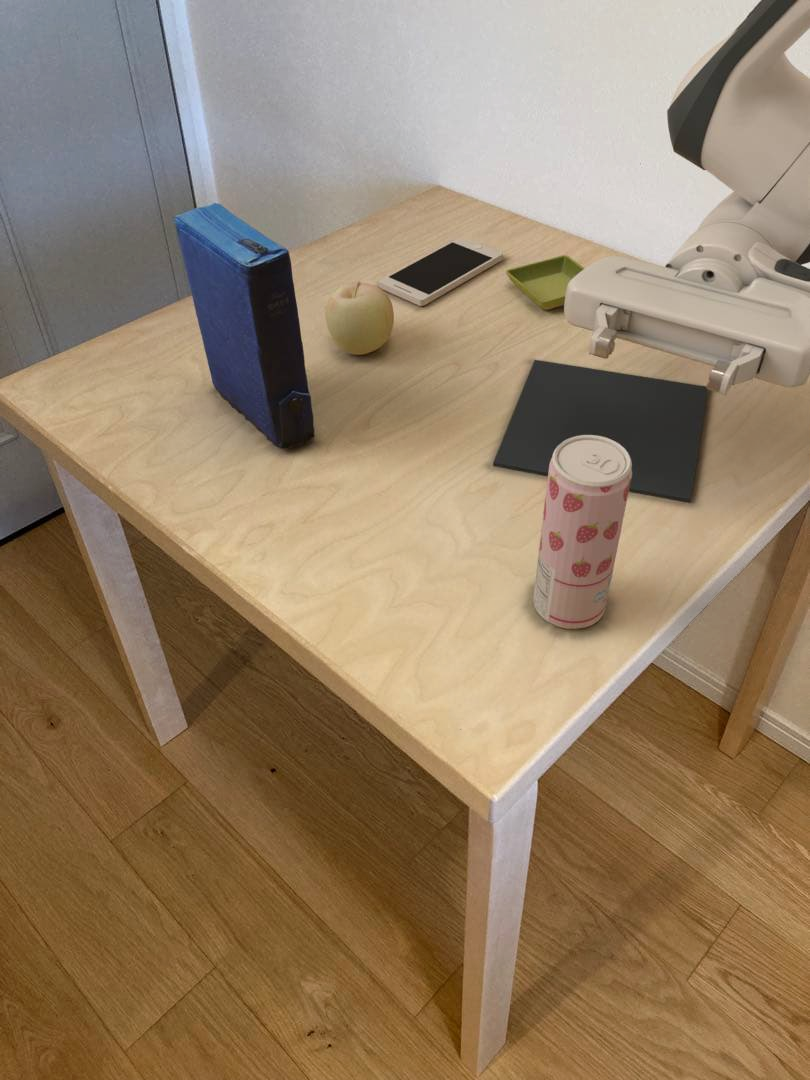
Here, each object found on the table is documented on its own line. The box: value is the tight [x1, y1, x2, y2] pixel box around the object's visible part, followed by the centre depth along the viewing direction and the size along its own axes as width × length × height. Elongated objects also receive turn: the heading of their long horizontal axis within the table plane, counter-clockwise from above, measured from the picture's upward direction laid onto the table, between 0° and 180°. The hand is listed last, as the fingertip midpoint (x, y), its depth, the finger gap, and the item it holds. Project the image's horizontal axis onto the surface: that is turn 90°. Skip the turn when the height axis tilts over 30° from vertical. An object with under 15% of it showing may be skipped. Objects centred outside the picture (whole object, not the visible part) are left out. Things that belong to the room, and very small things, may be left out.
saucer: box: [505, 255, 586, 311], centre depth 105 cm, size 9×9×2 cm
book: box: [173, 202, 316, 450], centre depth 83 cm, size 14×5×20 cm, turn 37°
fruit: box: [324, 281, 395, 356], centre depth 96 cm, size 8×7×8 cm
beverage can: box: [533, 435, 632, 630], centre depth 66 cm, size 6×6×15 cm
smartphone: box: [378, 236, 504, 307], centre depth 110 cm, size 7×15×1 cm, turn 137°
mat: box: [492, 359, 709, 503], centre depth 87 cm, size 18×18×1 cm
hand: (656, 366), depth 68 cm, fingers open, 8 cm apart
